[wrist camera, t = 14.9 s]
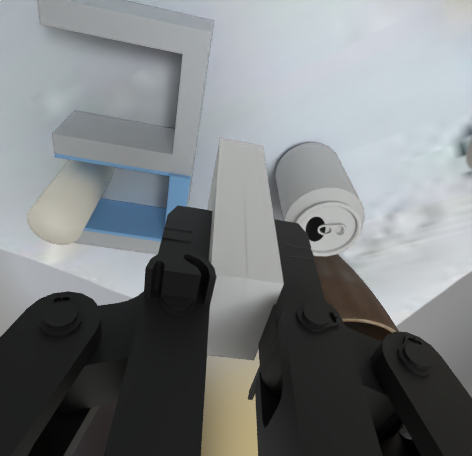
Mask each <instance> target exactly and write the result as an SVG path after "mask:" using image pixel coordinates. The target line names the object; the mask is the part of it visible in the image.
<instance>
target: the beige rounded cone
mask: <svg viewBox="0 0 472 456" xmlns="http://www.w3.org/2000/svg"><path fill="white" fill-rule="evenodd" d="M112 175H113V168H112V167H111V166H105V165H99V164H93V163H87V162H81V161H75V160H68V162H67V163H66V164H65V165H64V167H63V168H62V169H61V170H60V172H59V173H58V174H57V176H56V177H55V178H54V179H53V181H52V182H51V183H50V185H49V186H48V187H47V188H46V190H45V191H44V192H43V193H42V195H41V196H40V197H39V199H38V200H37V201H36V202H35V204H34V205H33V206H32V208H31V209H30V210H29V212H28V215H27V221H28V224H29V226H30V228H31V230H32V231H33V232H34V233H35V234H36V235H37V236H38V237H40V238H41V239H43V240H45V241H47V242H50V243H53V244H59V245H65V244H70V243H73V242H75V241H76V240H78V238H79V237H80V236H81V234H82V232H83V230H84V228H85V226H86V224H87V222H88V221H89V219H90V217H91V215H92V213H93V211H94V209H95V207H96V206H97V204H98V202H99V200H100V198H101V196H102V194H103V193H104V191H105V189H106V187H107V185H108V183H109V181H110V179H111V178H112Z"/></svg>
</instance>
